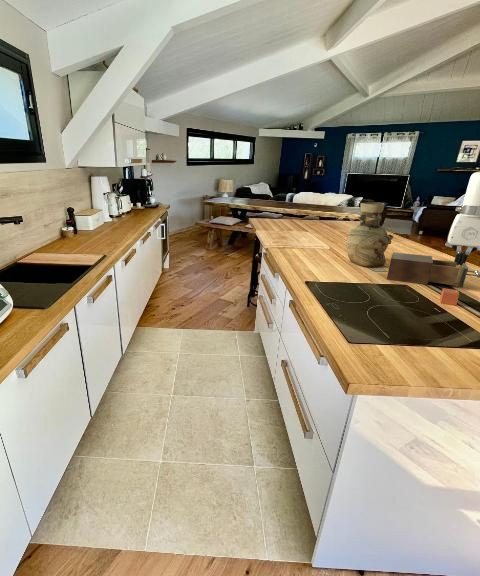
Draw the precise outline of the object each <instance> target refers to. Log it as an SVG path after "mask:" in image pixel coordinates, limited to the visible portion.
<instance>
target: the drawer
mask: <svg viewBox="0 0 480 576" xmlns="http://www.w3.org/2000/svg"><path fill="white" fill-rule="evenodd" d="M432 260H433V265H432V269H431V273H430V277H429V281H428V283H434V284H441V285H442V284H443V285H450V286H455V285H456V284H457V286H458V288H461V289H462V288H463V287H464V284H465V281H466V277H467V276H470V277H476V278H478V279H480V270H478V269H476V270H469V268H468V266H467V264H466V263H463V265H462V266H460V265H459V267H457V265H456V262H454V261H450V260H441V259H433V258H432Z"/></svg>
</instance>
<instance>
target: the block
mask: <svg viewBox="0 0 480 576" xmlns="http://www.w3.org/2000/svg"><path fill="white" fill-rule="evenodd" d="M459 297H460V292H459V290H458V289H452V288H444V287H443V288H442V289H441V294H440V298H439V303H440V304H445V305H449V306H456V307H457V303H458V300H459Z"/></svg>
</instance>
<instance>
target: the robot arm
mask: <svg viewBox="0 0 480 576" xmlns="http://www.w3.org/2000/svg"><path fill="white" fill-rule="evenodd" d="M455 212H458V213H457V214H456V216H455V218H454V220H453V222H452V224H451V226H450V229H449V232H448V235H447V240H446V242H445V243H444V245H445V247H447V248H451V249H452V250H454V252H455V253H456V254H455V257H454V261H453V262H456V266H459V267H460V266H462V265H463V263H465V264H466V263H467V260H468V257H469V255H470V254H472V253H474V252H477V251H480V171H475V172H473V173H472V174H471V176H470V178H469V181H468V184H467V188H466V191H465V195H464V199H463V202H462V205H460V206H456V207H455ZM463 247H466V248H465V250H464V251H463V252H462V248H463Z"/></svg>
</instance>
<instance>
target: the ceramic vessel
mask: <svg viewBox="0 0 480 576" xmlns="http://www.w3.org/2000/svg"><path fill="white" fill-rule="evenodd" d="M384 208H385V203H384V202H360V212H361V213H360V217H359V225H356V226H355V227H353V228H352V229H351V230H350V231H349V233H348V236H347V239H346V253H347V258H348V259H349V261H350V262H351V263H352V264H355V265H358V266H360V267H364V268H374V267H381V266H382V267H383V266H384V265H385V264H386V263H387V259H386V255H385V252H386V250H388V247H389V245H391V244H392V240H393V239H394V235H392V234H388V232H387V230H386V229H385V228H384V227H382V226H381V222H382V213H383V212H384Z"/></svg>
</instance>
